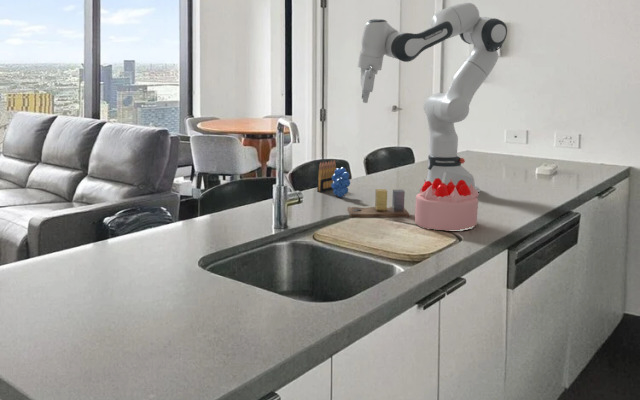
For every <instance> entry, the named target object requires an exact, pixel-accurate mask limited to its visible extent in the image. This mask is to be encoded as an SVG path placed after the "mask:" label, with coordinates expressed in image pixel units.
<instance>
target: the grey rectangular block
mask: <svg viewBox="0 0 640 400" xmlns="http://www.w3.org/2000/svg"><path fill="white" fill-rule="evenodd" d="M405 194H406V193H405V190H404V189H392V201H391V202H392V203H391V205H392V206H391V207H392V210H393V211H394V212H404V208H405Z"/></svg>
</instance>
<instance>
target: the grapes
mask: <svg viewBox="0 0 640 400" xmlns="http://www.w3.org/2000/svg"><path fill="white" fill-rule="evenodd" d="M334 173H335V174H334V175H333V176H332V180H333V181H334V182H333V183H332V184H331V187H332V188H333V191H332V193H333V195H334V196H337V197H338V198H339V199H340V198H343V197H344V196H345V195H346V194H348V192H349V188H348V187H349V186H350V185H351V179H350V173H349V172H348V171H347V169H346V168H345V167H343V166H341V167H340V168H339V167H336V170H335V172H334Z"/></svg>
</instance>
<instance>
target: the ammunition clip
mask: <svg viewBox="0 0 640 400" xmlns="http://www.w3.org/2000/svg"><path fill="white" fill-rule="evenodd" d="M336 169H337V164H336V159H334V160H328V162H327V161H320V162H319V166H318V178H317V185H316V186H317V188H316V190H317V191H316V192H318V193H324V192H328V191H332V190H333V191H334V189H333V188H332V187H331V184H332V183H333V182H334V181H333V180H332V176H333V175H334V174H335V173H334V172H335V170H336Z"/></svg>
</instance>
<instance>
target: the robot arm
mask: <svg viewBox="0 0 640 400" xmlns="http://www.w3.org/2000/svg"><path fill="white" fill-rule="evenodd" d="M479 11H480V10H479V9H478V7H477V6H476V5H475V4H474V3H471V2H463V3H457V4H455V5H451V6H449V7H446V8H443V9H441V10H439V11H438V12H436V13H434V14H433V16H432V18H431V21H430V27H428V28H427V29H424V30H422V31H419V32H418V33H413V32H412V33H411V32H403V31H399V30H397V29H395V28H394V27H392V26H391V25H390V24H389V23H388V21H387V20H386V19H378V18H376V19H375V18H374V19H370V20H368V21H367V22H366V23H365V26H364V29H363V33H362V38H361V50H360V52H359V57H358V62H357V68H359V69H360V86H361V88H362V89H361V99H362V102H363V103H364V104H368V103H369V101H368V100H369V97H370V94H371V93H373V90H374V85H375V78H376V75H378V71H381V70H382V67H383V63H384V62H383V61H384V56H386V57H390V58H392V59H397V60H399V61H401V62H404V63H405V62H407V63H409V62H412V61H413V60H416V58H417V57H419V56H420V55H421V53H422V52H424V51H425V50H427V49H429V48H432V47H433V46H436V45H437V44H440V43H442V42H443V41H446V40H447V39H448V40H449V39H451V38H453V37H456V36H458V35H459V37H460V39H461V40H462V41H463V43H465V44H468V45H473V48H472V50H471V52H470V54H469V55H468V56H467V58H466V59H465V60H464V61H463V63H462V64H461V65H460V67H459V68H458V69H457V70H456V72H454V74H453V75H452V77H451V80H452V81H451V83H450V86H449V88H448V90H447V91H446V92H444V93H440V92H437V93H434V94H432V95H430V96H428V97H426V99H425V100H424V103H423V110H424V113H425V114H426V115H425V116H426V117H427V123H428V124H427V125H428V131H429V155H428V156H427V157H428V159H427V177H426V179H425V180H426V181H430V182H431V183H433V181H434V180H435V179H436V178H439V179H441V181H442V183H445V184H446V186H447V184H448V183H449V182H450V178H451V179H452V181H453V183H454V184H455V185H457V183H458V182H459V181H460V180H464V181H465V182H466V184H467V185H468V187H470V185H471V183H472V186H473V187H474V188H475V189H476V190H477V191H478V192H479V193H481V189H480V188H479V186H476V183H475V178H474V176H473V174H472V173H471V172H470V171H469V170H467V169H466V168H465V167H464V166H462V164H464V163H465V158H463V157H460V156H458V145H459V144H458V143H459V136H458V134H457V132H456V130H455V129H456V128H455V123H460V122H462V121H464V120H465V119H467V117H468V115H469V113H470V105H471V102H472V100H473V98H474V96H475V94H476V92H477V91H478V89H480V87H481V86H482V84H483V83H484V82H485V80H486V79H487V78H488V77H489V75H490V74H491V72H492V71H493V70H494V67H495V66H496V65H497V62H498V60H499V53H498V51H499V50H500V49H501V48H502V45H503V44H504V42H505V41H506V39H507V36H508V27H507V25H506V23H505V22H504V21H503V20H501V19H499V18H493V17H487V16H480V12H479Z"/></svg>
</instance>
